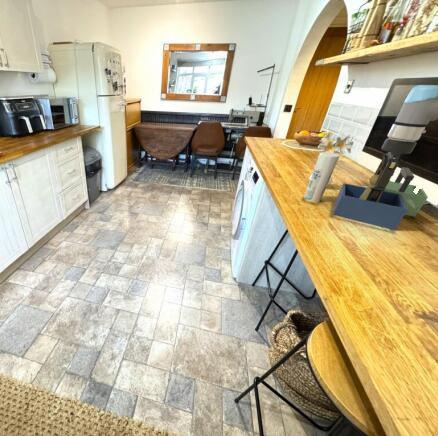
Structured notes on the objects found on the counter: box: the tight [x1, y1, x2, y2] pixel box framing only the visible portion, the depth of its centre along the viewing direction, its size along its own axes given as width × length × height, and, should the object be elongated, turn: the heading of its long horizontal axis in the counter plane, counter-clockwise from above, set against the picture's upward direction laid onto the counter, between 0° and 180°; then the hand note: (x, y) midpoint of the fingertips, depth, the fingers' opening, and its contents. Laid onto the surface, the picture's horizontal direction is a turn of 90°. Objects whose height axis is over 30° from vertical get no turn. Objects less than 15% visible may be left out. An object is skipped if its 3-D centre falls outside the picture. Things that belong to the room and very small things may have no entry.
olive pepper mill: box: [359, 174, 391, 203], centre depth 87 cm, size 6×6×11 cm
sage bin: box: [384, 166, 429, 218], centre depth 95 cm, size 14×12×15 cm
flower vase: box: [308, 131, 355, 187], centre depth 110 cm, size 13×18×25 cm
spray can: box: [303, 151, 340, 203], centre depth 98 cm, size 6×6×20 cm
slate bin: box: [332, 182, 408, 231], centre depth 90 cm, size 18×16×9 cm
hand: (367, 202), depth 89 cm, fingers closed on olive pepper mill, 6 cm apart
